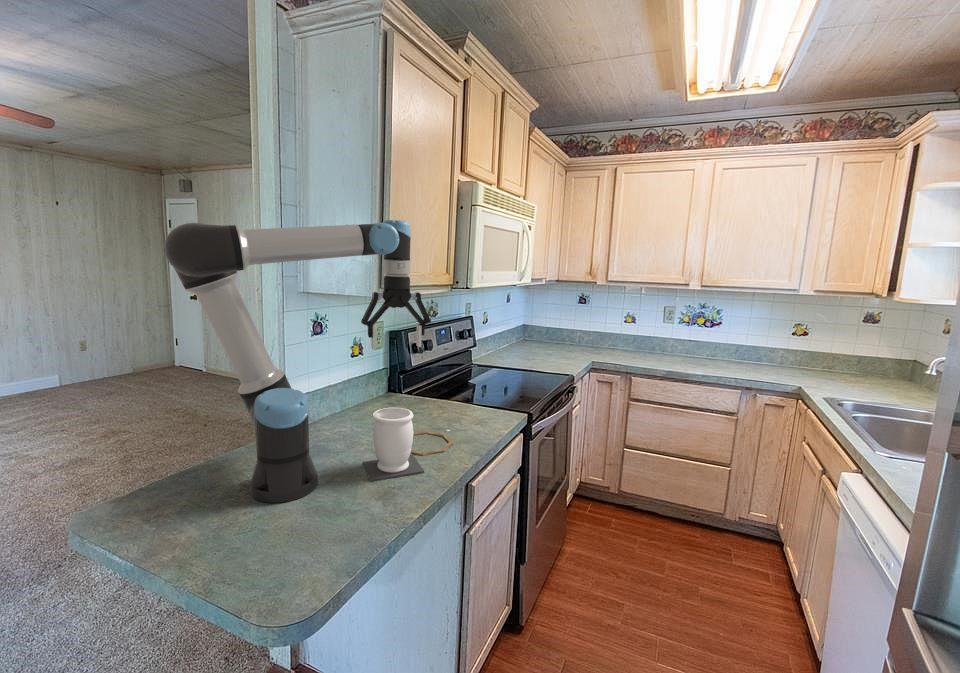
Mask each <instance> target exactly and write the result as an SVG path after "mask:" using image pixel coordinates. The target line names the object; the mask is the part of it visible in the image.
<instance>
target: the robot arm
mask: <svg viewBox="0 0 960 673" xmlns="http://www.w3.org/2000/svg"><path fill="white" fill-rule="evenodd" d="M411 239H412V236H411V225H410V222H408V221H407V220H400V219H399V220H397V219H396V220H395V219H387V220H384V221H383V222H377V223H365V224H364V223H363V224H341V225H340V224H337V225H317V226H295V227H277V228H276V227H274V228H272V227H271V228H252V229H249V228H248V229H243V228H241V227H240V226H239V225H237V224H234V225H228V224H227V225H225V224H224V225H223V224H222V225H221V224H220V225H219V224H207V223H206V224H205V223H200V222H186V223H183V224H180V225H178V226H176V227H175V228H174V229H172V230H171V231H170V232H169V234H168V235H167V236H166V238H165V241H164V245H163V246H164V253H165V257H166V259H167V261H168V263H169V264H170V265H171V266H172V267H173V269H174V271H175V273H176V274H177V276H178V278H179V280H180V282H181V284H182V286H183V288H184V290H185V291H186V292H189V293H192V294H194V295H195V296H196V297H197V299H198V301H199V304H200V305H201V307H202V309H203V310H204V311H203V312H204V313H205V315H206V317H207V318H208V321H209V323H210V324H211V327H212V328H213V330H214V333H215V334H216V337H217V339H218V340H219V342H220V344H221V347H222V348H223V350H224V352H225V354H226V356H227V358H228V360H229V362H230V364H231V366H232V368H233V370H234V372H235V374H236V376H237V378H238V379H239V382H240V385H239V388H238V389H237V392H238V394H239V396H240V398H241V401H242V403H243V404H244V406H245V408H246V410H247V412H248V414H249V416H250V419H251V421H252V424H253V426H254V431H255V444H256V445H255V447H256V463H255V466H254V469H253V473H252V476H251V479H250V483H249V490H250V496H251V497H252V498H253V499H254V500H256V501H257V502H261V503H262V502H263V503H270V504H276V503H277V504H279V503H280V504H281V503H286V502H291V501H294V500H298V499H301V498H304V497H305V496H307V495H309V494H310V493H312V492H313V491H314V490H315V489H316V488H317V486H318V483H319V480H318V479H319V478H318V477H319V476H318V471H317V469H316V466H315V464H314V461H313V460H312V457H311V453H310V430H309V429H310V427H309V426H310V425H309V420H310V419H309V412H310V406H309V401H308V397H307V395H306V393H304V392H302V391H301V390H299V389H294V388H292V387H291V386H292V385H290V382H289V380H288V377H287V376H286V374H285V372H284V370H282V369H278V368H276V367H275V366H274V363H273V361H272V359H271V356H270V355H269V353H268V351H267V350H268V349H267V348H266V346H265V344H264V342H263V340H262V336H261V335H260V333H259V331H258V330H257V327H256V325H255V323H254V321H253V319H252V317H251V315H250V312H249V310H248V308H247V306H246V304H245V302H244V300H243V298H242V295H241V294H240V291H239V289H238V287H237V285H236V282H235V280H236V278H237V275H238V271H239V272H240V271H245V270H246V269H247V268H248V267H249V266H252V265H263V264H265V265H266V264H275V263H277V264H278V263H291V262H299V261H302V262H303V261H312V260H323V259H334V258H335V259H337V258H346V257H359V256H362V257H363V256H374V255H375V256H376V255H381V256H383V274H384V277H383V291H382V293H381V292H377V291H373V292H372V294H371V300H370V303H369V304H368V306H367V308H366V310H365V312H364V314H363V316H362V318H361V320H360V321H361V322H360V323H361V324H362V325H364V326H366V327H367V337H368V338H371V339H370V340H371V341H370V342H371V349H372V350H377V338H376V337H377V326H375V325H376V323H377V322H378V320H379V319H380V318H381V317H382V316H383V314H384V313H385V312H386V311H387V310H388V309H389V308H392V309H395V308H401V309H403V308H406V309H407V310H408V311H409V313H410V314H411V315H412V316H413V318H414V319H415V320H416V322H417V324H416V331H415V332H416V336H415V337H416V339H415V340H416V341H415V342H416V345H415V346H416V347H418V348H422V336H425V330H426V329H425V326H426V325H427V324H430V323H431V322H432V320H431V317H430V316H429V314H428V312H427V310H426V307H425V304H424V303H423V301H422V295H421V292H418V291H414V292H411V277H410V276H409V275H410V274H411ZM381 298H382V299H383V300H384V302H383V303H382V304H381V306H380V308H379V309H377V311H376V312H375V313H374V314H372V313H373V312H374V310H375V307H376V306H377V304H378V301H380V300H381ZM411 298H412V299H413V300H414V302H415V303H416V305H417V307H418V310H419V312H420V314H421V316H422V317H423V318H422V317H421V316H420V314H419V313H418V312H417V311H416V310H415V308H414V307H413V306H412V305H411V303H410V302H409V301H410V300H411ZM371 316H372V317H371ZM370 317H371V318H370Z"/></svg>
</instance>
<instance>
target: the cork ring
mask: <svg viewBox="0 0 960 673" xmlns="http://www.w3.org/2000/svg"><path fill="white" fill-rule="evenodd" d="M421 435H431V436H438V437H442V438H443V439H444V440H445V441H446V442H447V444H446V445H445V446H443V447H442V448H441V449H435V450H427V451H418V450H413V449H411V453H410V454H411V455H412V454H413V455H418V456H430V455H434V454H441V453H445V452H447V450H449V449H450V448H451V447H452V446H453V445H454V441H453V439H451V438H450V437H449V435H447V434H446V433H440V432H435V431H429V430H424V431H416V432H415V431H413V437H414V436H421Z"/></svg>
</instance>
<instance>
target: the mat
mask: <svg viewBox="0 0 960 673" xmlns="http://www.w3.org/2000/svg"><path fill="white" fill-rule="evenodd" d="M378 462H379V460H378V459H373V460H365V461H363V463H362V464H363V466H364V468H365V471H366V473H367V475H368V478H369V480H370V482H377V481H382V480H383V481H384V480H389V479H395V478H400V477H402V478H403V477H407V476H413V475H418V474H419V475H420V474H425V469H424V468H423V467H422V466H421V464H420V463H419V462H418V460H417V459H416V457H415V456H414V454H412V453H411V454H410V456H409V458H408V462H409V466H408V468H407V469H405V470H403V471H400V472H395V473H389V472H384V471H381V470H380V469H378V467H377V464H378Z"/></svg>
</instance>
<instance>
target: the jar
mask: <svg viewBox="0 0 960 673" xmlns="http://www.w3.org/2000/svg"><path fill="white" fill-rule="evenodd" d="M372 415H373V417H372V418H373V419H374V423H373V424H374V425H373V431H372V432H373V433H372V438H373V445H374V450H375V455H376V459H377V460H379V462H378V464H377V467H378V469H380V470H381V471H384V472H389V473H395V472H400V471H403V470H405V469H407V468H408V466H409V462H408V458H409V456H410V455H411V454H412V453H411V450H412V446H413V441H414V436H413V433H414V425H413V418H414V412H413V411H412V410H410V409H408V408H402V407H385V408H380V409H378V410H375V411H374V412H373V414H372Z"/></svg>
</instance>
